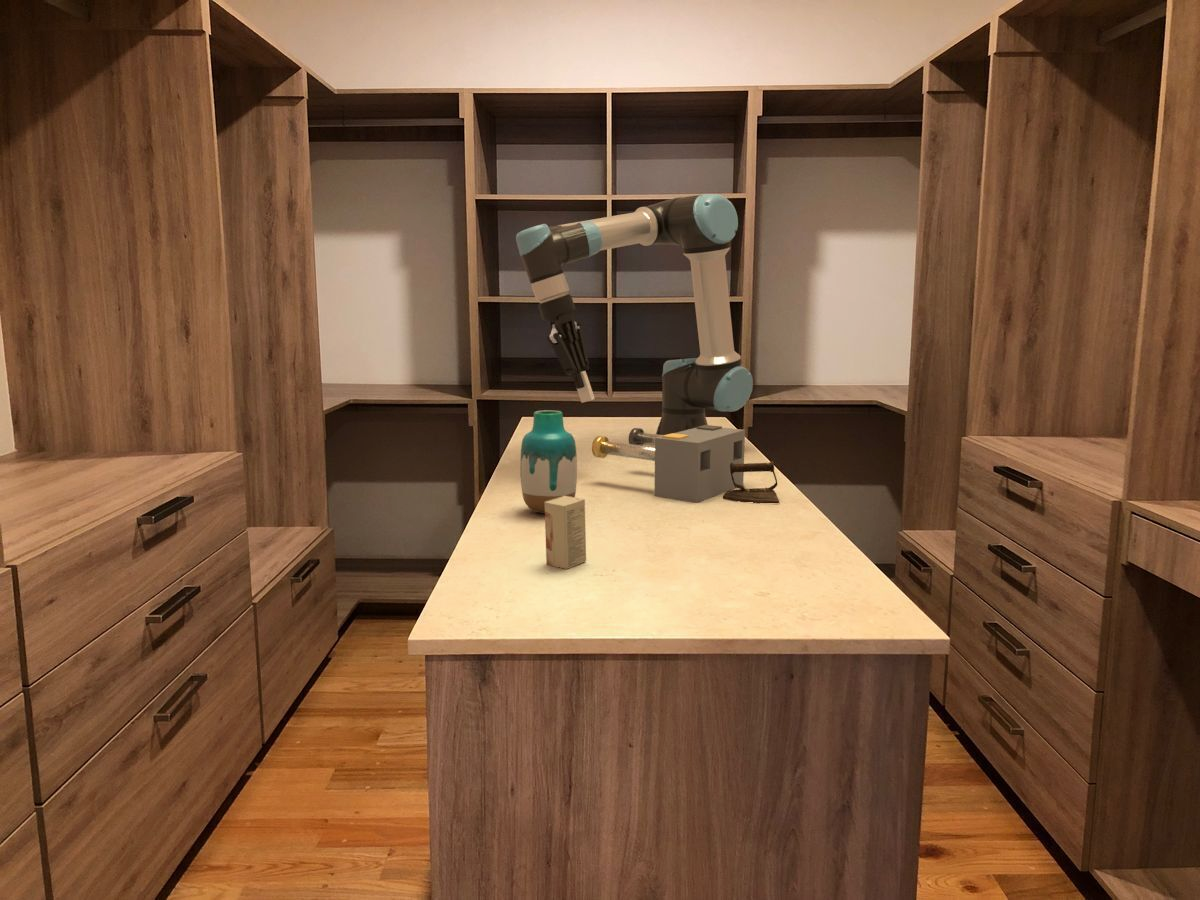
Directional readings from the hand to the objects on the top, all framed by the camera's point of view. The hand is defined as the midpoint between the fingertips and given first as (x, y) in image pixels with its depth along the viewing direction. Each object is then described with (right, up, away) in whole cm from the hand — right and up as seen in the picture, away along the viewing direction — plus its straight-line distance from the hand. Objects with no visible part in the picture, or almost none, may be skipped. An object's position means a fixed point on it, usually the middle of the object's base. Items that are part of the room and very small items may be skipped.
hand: (588, 400), depth 196 cm
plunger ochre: (+10, -14, -10) cm, 20 cm away
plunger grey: (+19, -11, +1) cm, 22 cm away
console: (+24, -19, -10) cm, 32 cm away
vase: (-7, -23, -28) cm, 37 cm away
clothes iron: (+33, -21, -17) cm, 43 cm away
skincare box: (-3, -29, -59) cm, 65 cm away
